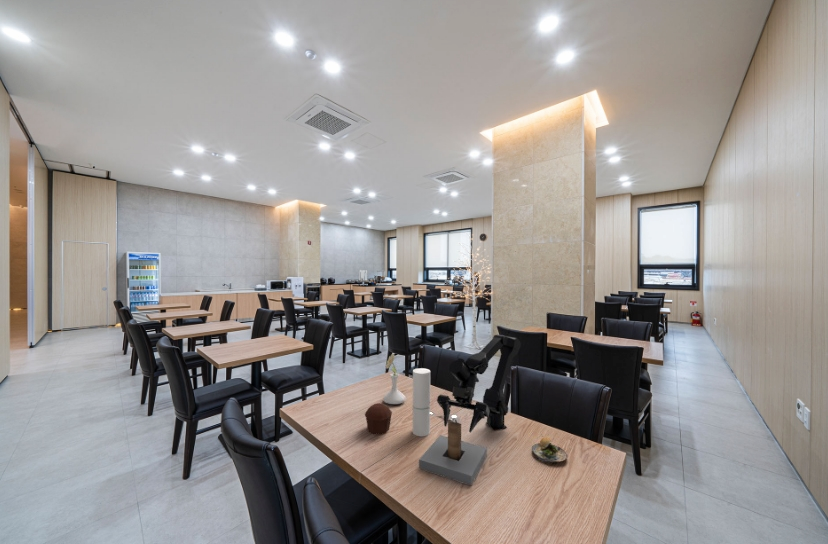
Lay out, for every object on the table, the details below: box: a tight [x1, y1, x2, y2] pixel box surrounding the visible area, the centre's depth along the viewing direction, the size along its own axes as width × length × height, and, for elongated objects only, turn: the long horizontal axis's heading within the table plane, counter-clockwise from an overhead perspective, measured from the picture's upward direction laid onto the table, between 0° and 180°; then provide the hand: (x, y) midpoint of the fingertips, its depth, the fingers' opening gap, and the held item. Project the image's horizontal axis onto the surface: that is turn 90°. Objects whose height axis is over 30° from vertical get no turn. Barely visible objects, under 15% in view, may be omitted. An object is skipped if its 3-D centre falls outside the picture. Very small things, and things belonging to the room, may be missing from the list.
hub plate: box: [418, 434, 488, 486], centre depth 108 cm, size 18×18×3 cm
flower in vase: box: [382, 353, 406, 405], centre depth 158 cm, size 13×11×25 cm
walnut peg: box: [447, 420, 462, 461], centre depth 108 cm, size 4×4×13 cm
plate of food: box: [531, 435, 568, 466], centre depth 113 cm, size 12×12×8 cm
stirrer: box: [430, 409, 461, 424], centre depth 143 cm, size 20×4×5 cm
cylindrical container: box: [412, 367, 431, 437], centre depth 129 cm, size 7×7×25 cm
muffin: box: [364, 402, 393, 436], centre depth 131 cm, size 12×11×10 cm
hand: (457, 429), depth 111 cm, fingers open, 9 cm apart
